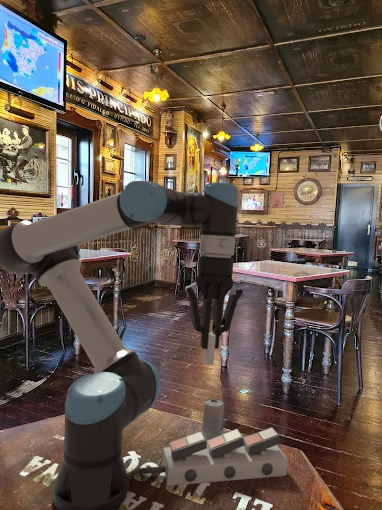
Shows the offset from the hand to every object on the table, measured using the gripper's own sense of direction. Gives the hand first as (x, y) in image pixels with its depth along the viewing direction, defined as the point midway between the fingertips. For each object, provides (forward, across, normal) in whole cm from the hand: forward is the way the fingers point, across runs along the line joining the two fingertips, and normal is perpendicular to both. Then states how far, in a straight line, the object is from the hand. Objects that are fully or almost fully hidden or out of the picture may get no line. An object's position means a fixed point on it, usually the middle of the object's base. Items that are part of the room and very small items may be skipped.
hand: (208, 362), depth 81 cm
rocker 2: (+20, +7, +3) cm, 22 cm away
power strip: (+27, +4, +3) cm, 27 cm away
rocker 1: (+21, -2, +4) cm, 21 cm away
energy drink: (+27, +7, +13) cm, 31 cm away
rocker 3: (+21, +16, +3) cm, 27 cm away
